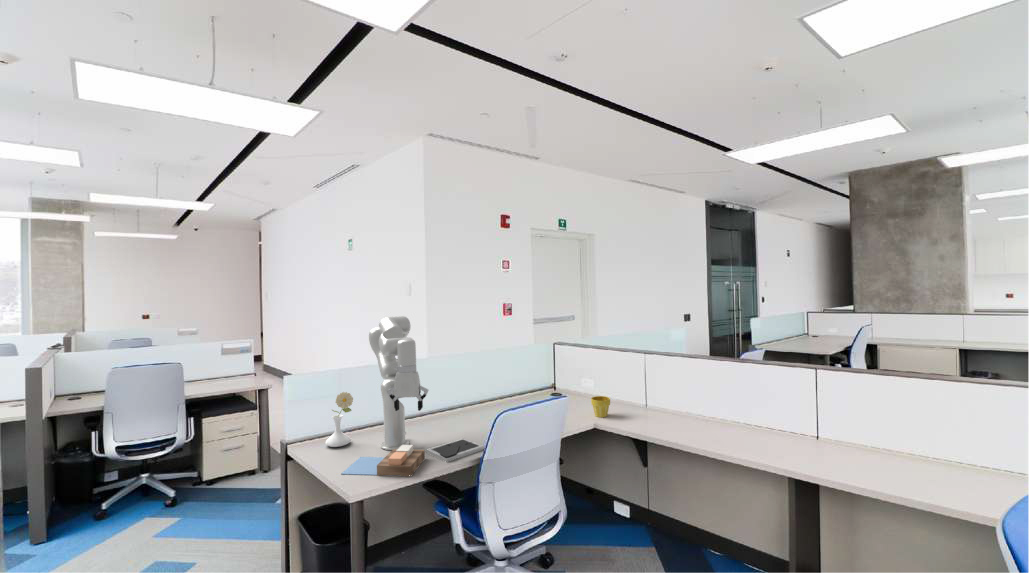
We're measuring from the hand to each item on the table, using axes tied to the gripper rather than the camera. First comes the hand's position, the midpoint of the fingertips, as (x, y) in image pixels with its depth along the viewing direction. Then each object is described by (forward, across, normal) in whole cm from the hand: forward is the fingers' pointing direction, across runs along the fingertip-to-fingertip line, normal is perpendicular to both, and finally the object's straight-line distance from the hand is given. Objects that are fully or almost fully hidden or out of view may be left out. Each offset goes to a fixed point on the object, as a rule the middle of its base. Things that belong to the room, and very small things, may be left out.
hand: (408, 410), depth 201 cm
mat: (+23, -18, -1) cm, 29 cm away
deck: (+23, -3, -2) cm, 23 cm away
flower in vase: (+22, -41, +24) cm, 52 cm away
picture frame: (+24, +16, +16) cm, 33 cm away
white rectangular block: (+18, -3, +2) cm, 18 cm away
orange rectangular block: (+18, -3, -6) cm, 19 cm away
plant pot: (+23, +86, +71) cm, 114 cm away
